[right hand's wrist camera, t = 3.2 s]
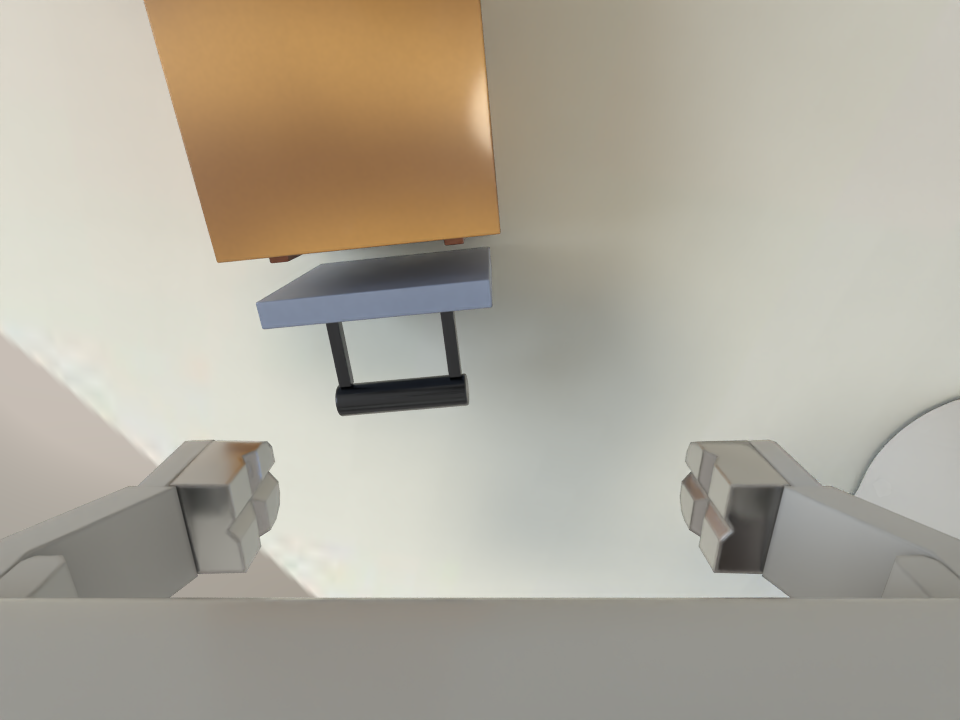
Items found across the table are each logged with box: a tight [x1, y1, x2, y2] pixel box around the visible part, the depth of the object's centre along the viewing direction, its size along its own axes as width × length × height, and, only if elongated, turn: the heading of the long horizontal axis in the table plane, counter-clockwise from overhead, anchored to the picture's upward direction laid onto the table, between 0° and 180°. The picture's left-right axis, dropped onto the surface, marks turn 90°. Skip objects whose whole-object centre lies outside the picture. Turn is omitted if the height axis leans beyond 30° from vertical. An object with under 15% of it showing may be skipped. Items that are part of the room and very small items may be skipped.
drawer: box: [256, 238, 492, 416], centre depth 24 cm, size 24×10×9 cm, turn 6°
